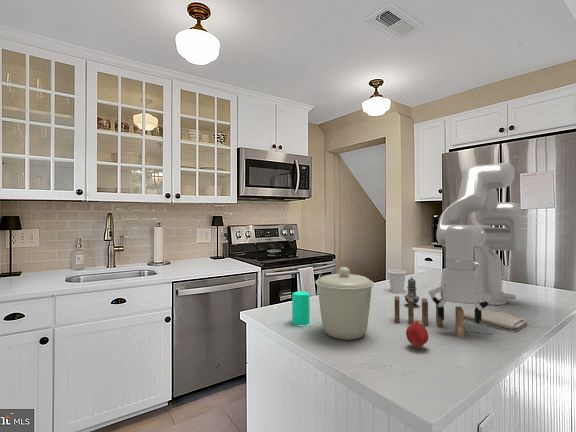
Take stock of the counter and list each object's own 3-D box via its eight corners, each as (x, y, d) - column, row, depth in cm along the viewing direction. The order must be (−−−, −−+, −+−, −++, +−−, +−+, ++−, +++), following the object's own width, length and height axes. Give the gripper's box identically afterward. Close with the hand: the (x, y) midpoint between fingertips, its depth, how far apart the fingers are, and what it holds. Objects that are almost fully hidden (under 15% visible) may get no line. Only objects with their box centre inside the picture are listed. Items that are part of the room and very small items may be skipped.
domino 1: (399, 318, 113) (399, 296, 113) (399, 323, 108) (399, 300, 108) (394, 318, 113) (394, 296, 113) (394, 322, 109) (394, 299, 109)
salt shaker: (421, 308, 125) (420, 278, 125) (405, 307, 126) (405, 277, 126) (418, 304, 131) (417, 275, 131) (403, 303, 132) (403, 275, 132)
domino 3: (426, 321, 110) (426, 298, 110) (428, 326, 105) (427, 302, 105) (421, 321, 110) (421, 298, 110) (422, 325, 106) (422, 302, 106)
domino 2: (413, 320, 111) (412, 297, 111) (413, 324, 107) (413, 301, 106) (408, 319, 112) (408, 297, 112) (408, 324, 107) (408, 300, 107)
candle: (297, 327, 105) (297, 291, 105) (289, 322, 110) (289, 287, 110) (312, 324, 108) (312, 289, 108) (304, 319, 113) (303, 286, 113)
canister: (308, 340, 94) (307, 270, 94) (324, 321, 111) (323, 261, 111) (370, 349, 87) (369, 274, 87) (377, 327, 104) (376, 264, 104)
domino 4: (441, 322, 108) (441, 299, 108) (443, 327, 103) (442, 303, 103) (436, 322, 109) (435, 299, 109) (437, 327, 104) (437, 303, 104)
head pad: (485, 325, 105) (485, 324, 105) (492, 334, 97) (492, 333, 97) (462, 323, 107) (462, 322, 107) (466, 331, 100) (466, 330, 100)
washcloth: (516, 334, 98) (516, 325, 98) (457, 320, 112) (457, 311, 112) (528, 326, 105) (528, 317, 105) (471, 313, 120) (471, 305, 120)
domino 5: (461, 331, 100) (461, 306, 100) (464, 337, 95) (464, 311, 95) (455, 331, 100) (455, 306, 100) (458, 336, 96) (458, 310, 96)
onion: (402, 344, 91) (402, 316, 91) (421, 343, 91) (421, 315, 91) (412, 352, 85) (411, 323, 85) (432, 351, 85) (432, 322, 85)
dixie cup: (393, 288, 158) (393, 269, 158) (409, 291, 152) (409, 271, 152) (384, 291, 152) (384, 271, 152) (400, 294, 146) (400, 273, 146)
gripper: (488, 265, 98) (488, 320, 98) (427, 262, 104) (428, 314, 104) (494, 268, 91) (495, 327, 91) (429, 265, 97) (429, 321, 97)
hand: (459, 320), depth 98 cm, fingers open, 9 cm apart
